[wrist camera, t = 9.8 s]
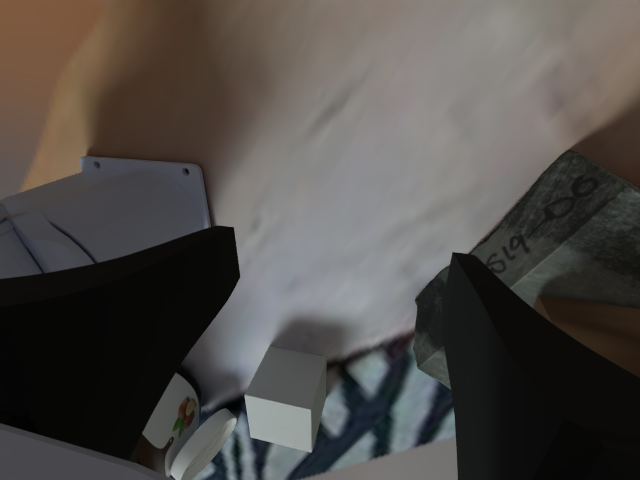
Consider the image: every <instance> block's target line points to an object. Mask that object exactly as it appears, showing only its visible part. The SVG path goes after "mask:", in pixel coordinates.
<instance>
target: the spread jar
mask: <svg viewBox="0 0 640 480" xmlns="http://www.w3.org/2000/svg"><path fill="white" fill-rule="evenodd" d="M200 412H201V391H200V388H199V385H198V383H197V382H196V380H195V379H194V377H193V376H192V375H191V374H190V373H189V372H188V371H187V370H186V369H184V368H183V367H182V366H179V368H178V370H177V371H176V373H175V375H174V376H173V378H172V380H171V381H170V383H169V385H168V386H167V388H166V390H165V392H164V394H163V395H162V397H161V399H160V401H159V403H158V404H157V406H156V408H155V410H154V412H153V413H152V415H151V417H150V419H149V421H148V423H147V425H146V427H145V429H144V431H143V433H142V435H141V437H140V439H139V441H138V442H137V444H136V446H135V448H134V450H133V453H132V455H131V457H130V459H129V461H130V462H133V463H137V464H139V465H142V466H144V467H146V468H148V469H151V470H153V471H155V472H157V473H160V474H162V475H164V476H166V477H169V476H170V475H172V476H173V477H174V478H175V479H176V480H192V479H193V478H194V477H195V476H196V475H197V474H198V473H199V472H201V471H202V470H203V469H204V467H205V466H206V465H207V464H208V463H209V462H210V461H211V460H212V459H213V458H214V456H215V455H216V454H217V453H218V452H219V450H220V449H221V448H222V446H223V445H224V444H225V442H226V441H227V439H228V438H229V436H230V435H231V433H232V431H233V430H234V428H235V426H236V423H237V418H236V417H235V416H234V415H233V414H232V413H231V412H230V411H229V410H228V409H226V408H225V409H222V410H220V411H218V412H217V413H215V414H214V415H213V416H211V417H210V418H209V419H208V420H207V421H206V422H205V423H203V424H202V425H201V426H200V428H199V429H198V430H197V431H196V432H195V430H196V427H197V425H198V421H199V417H200ZM194 432H195V433H194Z"/></svg>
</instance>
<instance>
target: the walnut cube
mask: <svg viewBox="0 0 640 480" xmlns="http://www.w3.org/2000/svg"><path fill="white" fill-rule="evenodd" d="M533 309H534V310H536V311H537V312H538V313H539V314H541V315H542V316H543V317H545V318H546V319H547V320H549V321H550V322H551V323H553V324H554V325H555V326H557V327H558V328H560V329H561V330H563V331H564V332H565V333H567V334H568V335H570V336H571V337H573V338H574V339H576V340H577V341H579V342H580V343H582V344H583V345H585V346H586V347H588V348H590V349H591V350H593V351H595V352H596V353H598V354H600V355H601V356H603V357H605V358H606V359H608V360H610V361H611V362H613V363H615V364H616V365H618V366H620V367H622V368H623V369H625V370H627V371H629V372H631V373H632V374H634V375H636V376H638V377H640V309H637V308H630V307H622V306H615V305H607V304H600V303H592V302H585V301H577V300H570V299H562V298H555V297H548V296H540V295H538V296H537V299H536V301H535V304H534V307H533Z"/></svg>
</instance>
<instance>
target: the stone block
mask: <svg viewBox="0 0 640 480" xmlns="http://www.w3.org/2000/svg"><path fill="white" fill-rule="evenodd" d="M471 254H472V255H475V256H477V257H478V258H479V259H480V260H481V261H482V262H483V263H484V264H485V265H486V266H487V267H488V268H489V269H490V270H491V271H492V272H493V273H494V274H495V275H496V276H497V277H498V278H499V279H500V280H501V281H502V282H503V283H505V284H506V285H507V286H508V287H509V288H510V289H511V290H512V291H513V292H514V293H515V294H517V295H518V296H519V297H520V298H521V299H522V300H524V301H525V302H526V303H527V304H528V305H530V306H531V307H532V308H533V307H534V304H535V301H536V299H537V296H538V295H540V296H548V297H555V298H562V299H570V300H577V301H585V302H592V303H600V304H607V305H615V306H622V307H630V308H637V309H640V188H639V187H637V186H634V185H633V184H632V183H630V182H629V181H627V180H625V179H623V178H621V177H619V176H617V175H614V174H612V173H611V172H609V171H607V170H606V169H605V168H603V167H601V166H599V165H597V164H596V163H594V162H592V161H590V160H588V159H586V158H585V157H583V156H582V155H580V154H578V153H577V152H574V151H571V150H569V151H568V152H567V153H565V154H563V155H561V156H560V157H559V158H558V159H557V160H556V161H555V162H554V163H553V164H552V165H551V166H550V167H549V168H548V169H547V171H546V172H544V173H543V174H541V175H540V177H539V178H538V180H537V182H536V183H535V185H534V186H533V187H532V188H531V189H530V191H529V192H528V193H527V195H526V196H525V198H524V199H523V200H522V201H521V202H520V203H519V204H518V206H517V207H516V208H515V209H514V210H513V211H512V212H511V213H510V214H509V215H508V217H507V218H506V219H505V220H504V221H503V222H502V223H501V225H500V226H499V228H498V229H497V231H496V232H495V233H494V234H492V235H491V236H490V238H489V239H488V240H487V241H486V242H485V243H483V244H482V245H480V246H478V247H477V248H476V249H475V250H474V251H473V252H472V253H471ZM449 268H450V267H448V268H446V269H444V270H442V271H441V272H440V273H439V274H438V275H437V276H436V277H435V279H434V280H432V281H430V283H429V284H428V285H427V286H426V287H425V289H424V290H423V291H422V292H421V293H420V295H419V296H418V297H417V298H416V299H415V303H416V305H417V318H416V325H415V340H414V345H413V350H414V353H415V360H416V362H417V368H418V369H419V370H421V371H423V372H424V373H426V374H428V375H429V376H431V377H432V378H434V379H436V380H437V381H439V382H441V383H442V384H444V385H445V386H447V387H448V388H449V389H451V386H450V380H449V374H448V368H447V362H446V356H445V350H444V344H443V337H442V309H441V306H442V302H443V297H444V292H445V287H446V282H447V277H448V273H449Z"/></svg>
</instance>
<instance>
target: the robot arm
mask: <svg viewBox="0 0 640 480" xmlns="http://www.w3.org/2000/svg"><path fill="white" fill-rule="evenodd" d="M98 163H99V164H100V165H99V164H98ZM80 165H81V168H82V171H83V172H81V173H78V174H75V175H72V176H69V177H66V178H63V179H60V180H57V181H54V182H51V183H48V184H45V185H42V186H39V187H36V188H33V189H30V190H27V191H24V192H21V193H18V194H15V195H12V196H9V197H6V198H4V199H2V200H0V480H173V479H171V478H169V477H166V476H164V475H162V474H160V473H157V472H155V471H153V470H151V469H148V468H146V467H144V466H142V465H139V464H137V463H133V462H130V461H129V459H130V457H131V455H132V453H133V450H134V448H135V446H136V444H137V442H138V441H139V439H140V437H141V435H142V433H143V431H144V429H145V427H146V425H147V423H148V421H149V419H150V417H151V415H152V413H153V412H154V410H155V408H156V406H157V404H158V403H159V401H160V399H161V397H162V395H163V394H164V392H165V390H166V388H167V386H168V385H169V383H170V381H171V380H172V378H173V376H174V375H175V373H176V371H177V370H178V368H179V366H180V365H181V363H182V361H183V360H184V358H185V357H186V356H187V354H188V353H189V351H190V350H191V348H192V347H193V346H194V344H195V343H196V342H197V340H198V339H199V338H200V336H201V335H202V334H203V333H204V331H205V330H206V329H207V327H208V326H209V325H210V323H211V322H212V321H213V319H214V318H215V317H216V315H217V314H218V313H219V311H220V310H221V309H222V307H223V306H224V305H225V303H226V302H227V300H228V299H229V297H230V295H231V294H232V292H233V290H234V288H235V286H236V284H237V282H238V280H239V278H240V271H239V264H238V256H237V248H236V241H235V233H234V227H226V226H213V227H211V223H210V217H209V210H208V204H207V198H206V192H205V186H204V180H203V174H202V170H201V168H200V166H198V165H197V164H193V163H179V162H165V161H151V160H137V159H123V158H109V157H95V156H84V157H81V158H80ZM186 169H188V170H189V174H188V173H187V172H186ZM441 309H442V337H443V344H444V350H445V356H446V362H447V368H448V374H449V380H450V386H451V392H452V398H453V406H454V414H455V428H456V445H457V466H458V480H640V377H638V376H636V375H634V374H632V373H631V372H629V371H627V370H625V369H623V368H622V367H620V366H618V365H616V364H615V363H613V362H611V361H610V360H608V359H606V358H605V357H603V356H601V355H600V354H598V353H596V352H595V351H593V350H591V349H590V348H588V347H586V346H585V345H583V344H582V343H580V342H579V341H577V340H576V339H574V338H573V337H571V336H570V335H568V334H567V333H565V332H564V331H563V330H561V329H560V328H558V327H557V326H555V325H554V324H553V323H551V322H550V321H549V320H547V319H546V318H545V317H543V316H542V315H541V314H539V313H538V312H537V311H536V310H534V309H533V308H532V307H531V306H530V305H528V304H527V303H526V302H525V301H524V300H522V299H521V298H520V297H519V296H518V295H517V294H515V293H514V292H513V291H512V290H511V289H510V288H509V287H508V286H507V285H506V284H505V283H503V282H502V281H501V280H500V279H499V278H498V277H497V276H496V275H495V274H494V273H493V272H492V271H491V270H490V269H489V268H488V267H487V266H486V265H485V264H484V263H483V262H482V261H481V260H480V259H479V258H478V257H477V256H475V255H472V254H464V253H455V252H453V253H452V258H451V263H450V268H449V273H448V277H447V282H446V287H445V292H444V297H443V302H442V306H441Z"/></svg>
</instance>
